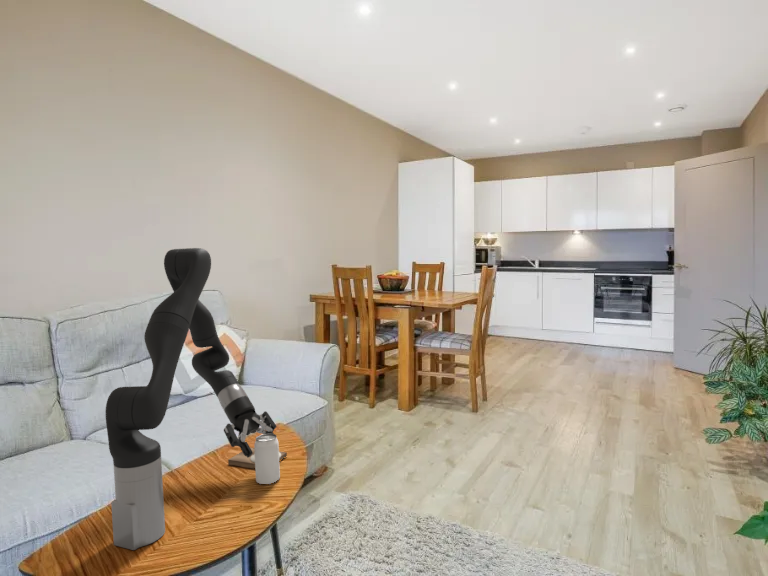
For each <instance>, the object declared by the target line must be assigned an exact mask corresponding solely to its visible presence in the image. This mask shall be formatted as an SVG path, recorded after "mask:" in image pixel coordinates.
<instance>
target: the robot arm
mask: <svg viewBox="0 0 768 576" xmlns="http://www.w3.org/2000/svg"><path fill="white" fill-rule="evenodd" d="M163 266H164V268H163V269H164V271H165V275H166V277H167V280H168V283H169V285H170V286H171V289H172V291H173V292H172V293H171V294H170V295H169V296H168V297H166V298H165V299H164V300H162V301H161V302H160V303H159V304H158V305H157V306H156V307H155V309H154V310H153V312H152V313H151V315H150V318H149V321H148V322H147V326H146V329H145V332H144V344H145V346H146V350H147V352H148V354H149V356H150V359H151V363H152V372H151V377H150V379H149V382H148V384H147V385H143V386H142V385H141V386H139V385H138V386H137V385H136V386H120V387H119V386H118V387H117V388H114V389H113V390H112V392H110V394H109V395H108V397H107V400H106V404H105V424H106V425H105V426H106V432H107V433H106V434H107V440H108V442H107V443H108V449H109V450H108V451H109V453H110V455H111V457H112V461H113V462H112V463H113V464H112V465H113V475H114V476H113V478H114V479H113V480H114V494H115V499H114V500H112V501H111V506H110V507H111V521H112V522H111V523H112V536H113V539H112V540H113V546H116V547H120V548H124V549H128V550H131V551H135V550H137V549H139V548H141V547H144V546H148V545H150V544H153V543H154V542H156V541H158V540H159V539H160V538H162V537H163V535H165V533H166V523H165V521H166V520H165V519H166V517H165V503H164V502H165V501H164V488H163V487H164V483H163V466H162V465H163V464H162V451H161V450H162V449H161V448H162V447H161V445H160V442H159V441H157V440H156V439H154V438H151V437H148V436H146V435H145V434H143V433H142V432H140V431H146V430H148V431H150V430H154V429H157V428H158V427H159V426H160V425H161V424H162V422H163V420H164V418H165V417H166V416H165V415H166V413H167V409H168V405H169V400H170V397H171V392H172V388H173V383H174V379H175V374H176V369H177V367H178V362H179V360H180V356H181V353H182V350H183V348H184V345H185V342H186V339H187V336H188V333H190V336H191V339H192V340H191V341H192V343H193V345H194V346H195V347H197V348H207V349H204V350H202V351H199V352H198V353H195V354H194V355H193V356H192V359H191V366H192V368H193V370H194V371H195V372H196V374H197V375H198V376H200V377H201V378H202V379H203V380H204V381H206V383H208V384H209V386H210V387H211V388H212V390H213V392H214V394H215V395H216V397H217V399H218V402H219V404H220V407H221V408H222V409H223V411H224V413H225V415H226V417H227V419H228V421H229V422H230V423H227V424H226V426H225V427H224V429H223V432H224V434H225V436H226V439H227V441H228V443H229V445H230V447H232V448H235V447H239V448H240V450H241V452H243V454H244V455H245V456H247V457H250V456H251V455H252V453H253V452H252V450H251V449H250V444H248V442H247V441H246V436H250V435H251V434H256V433H258V434H261V435H263V434H274V430H275V429H276V428H277V424H276V423H275V422H274V420H273V418H272V417H271V415H270V414H269V413H268V412H267V411H263V413H261V414H258V413H257V412H256V409H255V406H254V405H253V403H252V401H251V399H250V397H249V396H248V395H247V393H246V391H245V390H244V388H243V386H242V385H240V383H239V381H238V380H237V378H236V376H235V374H234V373H233V372H232V371H231V370H229V369H228V370H227V369H226V370H220V369H223V368H225V367H226V366H228V364H229V361H230V355H229V353H228V351H227V349H226V348H225V346H224V345H223V343H222V341H221V340H220V338H219V335H218V332H217V328H216V323H215V321H214V318H213V315H212V313H211V311H210V310H209V309H208V308H207V307H206V305H204V303H202V301H200V296H201V294H202V292H203V290H204V288H205V285H206V283H207V281H208V279H209V276H210V273H211V269H212V257H211V254H210V253H209V251H208V250H207V249H205V248H199V247H190V248H174V249H173V248H172V249H170V250H168V251H167V252H166V253H165V255H164V258H163ZM218 370H220V371H218ZM235 431H236V432H238V437H237V433H236V432H235Z"/></svg>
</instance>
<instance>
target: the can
mask: <svg viewBox="0 0 768 576" xmlns="http://www.w3.org/2000/svg"><path fill="white" fill-rule="evenodd" d="M253 445H254V447H253V448H254V450H255V469H254V470H255V481H256V483H257V484H258V483H259V485H261V484H269V485H272V484H271V483H273V484H275V483H277V482H278V481H279V480H280V478H281V469H280V462H279V451H280V446H279V445H280V444H279V440H278V438H277V434H260V435H258V436H256V437H255V441H254V444H253ZM277 480H278V481H277ZM276 481H277V482H276ZM274 482H275V483H274Z"/></svg>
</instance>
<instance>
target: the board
mask: <svg viewBox="0 0 768 576" xmlns="http://www.w3.org/2000/svg"><path fill="white" fill-rule="evenodd" d="M249 447H250V446H249ZM250 449H251V450H252V452H253V453H252V455H251V456H250V457H247V456H245V455H244V454H243V452H242V451H241V452H239V453H237V454H235V455H233V456H232V457H230V458H229V459H228V460H227V462H228V465H229V466H235V467H242V468H248V469H254V468H255V450H254V447H250ZM286 456H287V457H288V453H287V452H285V451H280V450H279V461H280V460H281V459H283V458H284V457H286ZM287 457H286V458H287ZM283 460H284V459H283Z"/></svg>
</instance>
